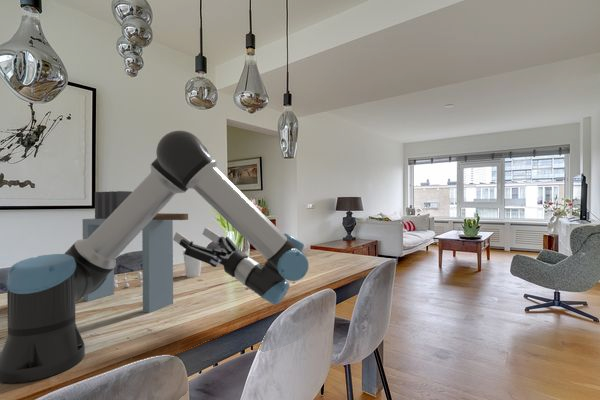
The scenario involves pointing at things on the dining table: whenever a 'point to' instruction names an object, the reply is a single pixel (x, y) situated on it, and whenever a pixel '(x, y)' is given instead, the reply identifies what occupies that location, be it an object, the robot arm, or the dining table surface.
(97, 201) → the domino
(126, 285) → the game piece set
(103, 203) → the domino
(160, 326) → the dining table surface
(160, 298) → the slate shelf
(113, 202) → the domino
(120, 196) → the domino
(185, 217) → the walnut bar
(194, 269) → the foam cup
